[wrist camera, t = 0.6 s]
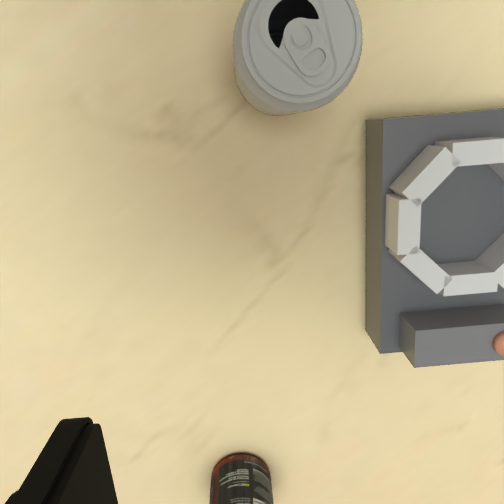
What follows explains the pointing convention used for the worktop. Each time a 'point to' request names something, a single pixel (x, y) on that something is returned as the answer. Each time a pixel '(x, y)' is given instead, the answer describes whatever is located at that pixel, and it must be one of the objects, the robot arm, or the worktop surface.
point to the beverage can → (295, 52)
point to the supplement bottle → (241, 481)
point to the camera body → (436, 236)
